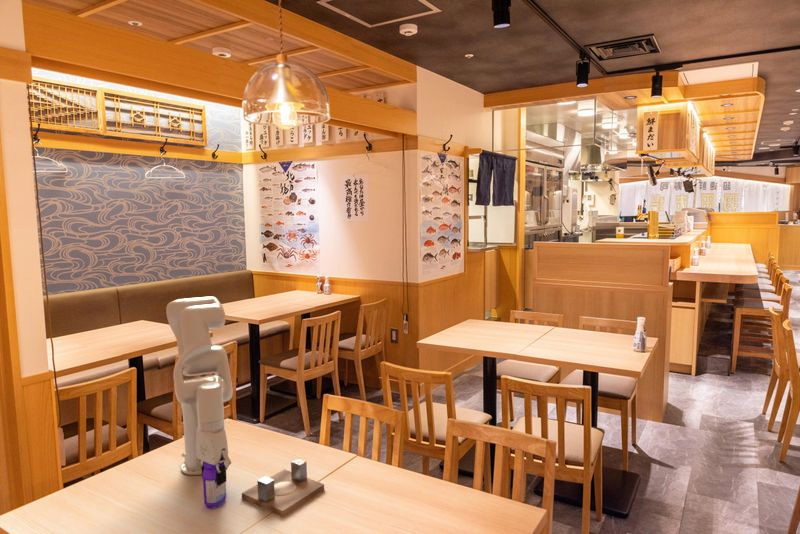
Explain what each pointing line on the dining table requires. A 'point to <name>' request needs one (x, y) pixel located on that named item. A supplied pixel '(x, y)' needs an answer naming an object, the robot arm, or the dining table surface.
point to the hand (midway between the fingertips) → (214, 479)
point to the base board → (285, 493)
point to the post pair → (267, 484)
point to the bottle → (212, 487)
